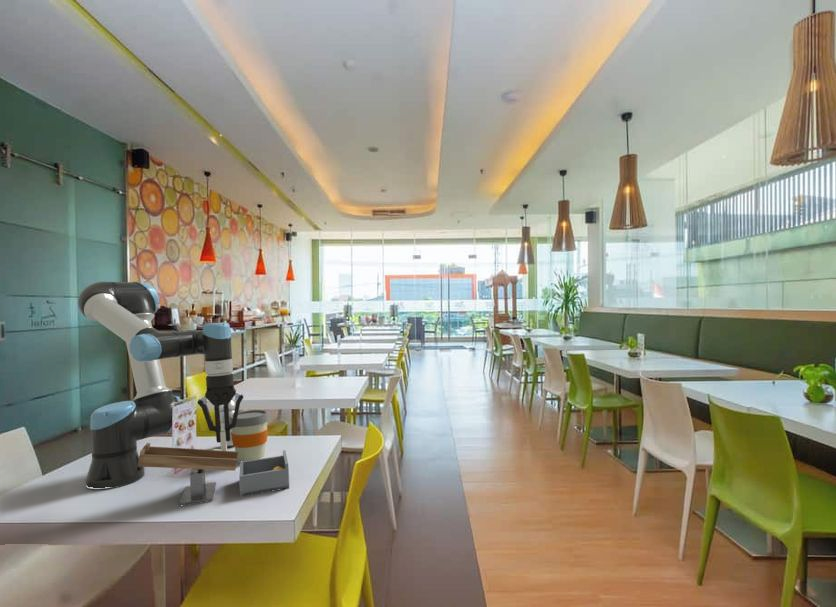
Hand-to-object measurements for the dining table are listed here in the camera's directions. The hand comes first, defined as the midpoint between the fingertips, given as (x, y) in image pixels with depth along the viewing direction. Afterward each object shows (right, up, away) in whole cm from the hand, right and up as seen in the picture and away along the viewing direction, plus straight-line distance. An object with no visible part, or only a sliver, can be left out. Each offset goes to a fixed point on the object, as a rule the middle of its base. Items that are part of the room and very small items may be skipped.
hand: (224, 452), depth 136 cm
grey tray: (+13, -8, -4) cm, 16 cm away
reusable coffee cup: (0, -9, +21) cm, 23 cm away
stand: (-3, -9, -10) cm, 13 cm away
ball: (+17, -5, -2) cm, 18 cm away
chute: (-7, -1, -7) cm, 10 cm away
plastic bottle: (-13, -10, +35) cm, 39 cm away
